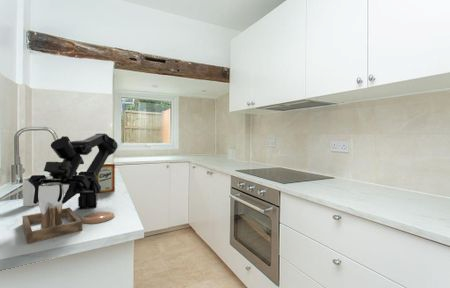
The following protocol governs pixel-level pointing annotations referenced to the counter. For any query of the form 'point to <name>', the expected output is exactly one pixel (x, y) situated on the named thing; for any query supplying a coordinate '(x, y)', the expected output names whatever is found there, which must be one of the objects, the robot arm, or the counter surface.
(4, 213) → the counter surface
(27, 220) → the wooden frame
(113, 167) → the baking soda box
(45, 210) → the silver metal cup
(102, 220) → the terracotta saucer
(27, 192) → the can
